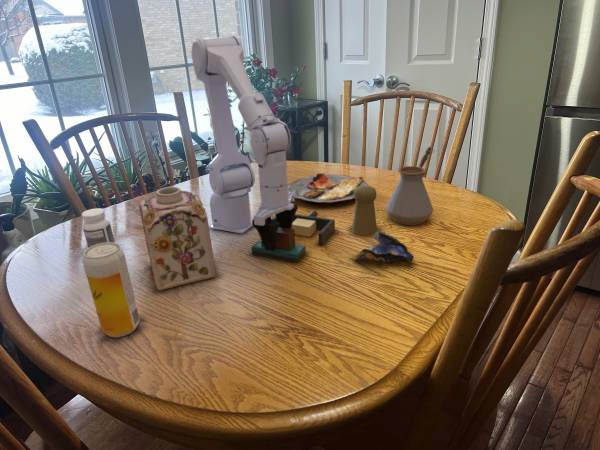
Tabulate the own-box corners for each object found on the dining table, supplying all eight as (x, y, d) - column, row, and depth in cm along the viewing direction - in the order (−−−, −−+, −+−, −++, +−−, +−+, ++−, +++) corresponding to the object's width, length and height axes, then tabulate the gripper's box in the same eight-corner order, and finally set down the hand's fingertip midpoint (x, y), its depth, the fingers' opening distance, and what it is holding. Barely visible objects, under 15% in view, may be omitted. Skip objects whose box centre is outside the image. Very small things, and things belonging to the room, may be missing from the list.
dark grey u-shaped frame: (264, 236, 105) (263, 224, 104) (289, 215, 116) (288, 204, 115) (321, 245, 99) (321, 233, 98) (342, 222, 110) (341, 211, 109)
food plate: (317, 176, 145) (317, 165, 144) (381, 187, 132) (381, 176, 131) (270, 199, 127) (269, 188, 126) (338, 215, 114) (338, 202, 113)
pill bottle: (104, 244, 105) (94, 205, 100) (121, 248, 102) (112, 209, 98) (84, 254, 100) (73, 215, 96) (102, 259, 97) (91, 218, 93)
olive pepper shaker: (376, 236, 102) (377, 192, 97) (350, 235, 103) (350, 191, 99) (377, 225, 107) (379, 183, 103) (353, 224, 109) (353, 182, 104)
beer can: (109, 318, 77) (88, 242, 71) (144, 315, 77) (126, 239, 71) (97, 341, 71) (74, 260, 65) (135, 337, 72) (115, 257, 66)
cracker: (290, 233, 105) (290, 224, 104) (297, 227, 109) (297, 218, 108) (309, 236, 103) (309, 227, 102) (316, 230, 107) (316, 220, 106)
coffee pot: (424, 231, 103) (429, 170, 97) (378, 223, 109) (380, 165, 102) (447, 202, 119) (453, 148, 113) (406, 195, 125) (410, 144, 119)
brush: (252, 254, 96) (249, 229, 94) (262, 245, 100) (260, 221, 98) (297, 263, 92) (295, 237, 90) (305, 253, 96) (304, 228, 93)
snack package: (361, 243, 99) (347, 266, 89) (367, 217, 97) (353, 238, 87) (414, 258, 96) (405, 284, 86) (421, 232, 93) (413, 256, 83)
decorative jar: (150, 265, 94) (134, 186, 86) (204, 253, 98) (193, 176, 90) (157, 293, 84) (139, 206, 76) (217, 278, 88) (205, 194, 80)
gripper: (274, 197, 82) (279, 261, 87) (305, 174, 94) (308, 231, 99) (242, 193, 85) (248, 255, 90) (276, 171, 97) (280, 227, 102)
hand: (277, 242), depth 95 cm, fingers open, 6 cm apart
